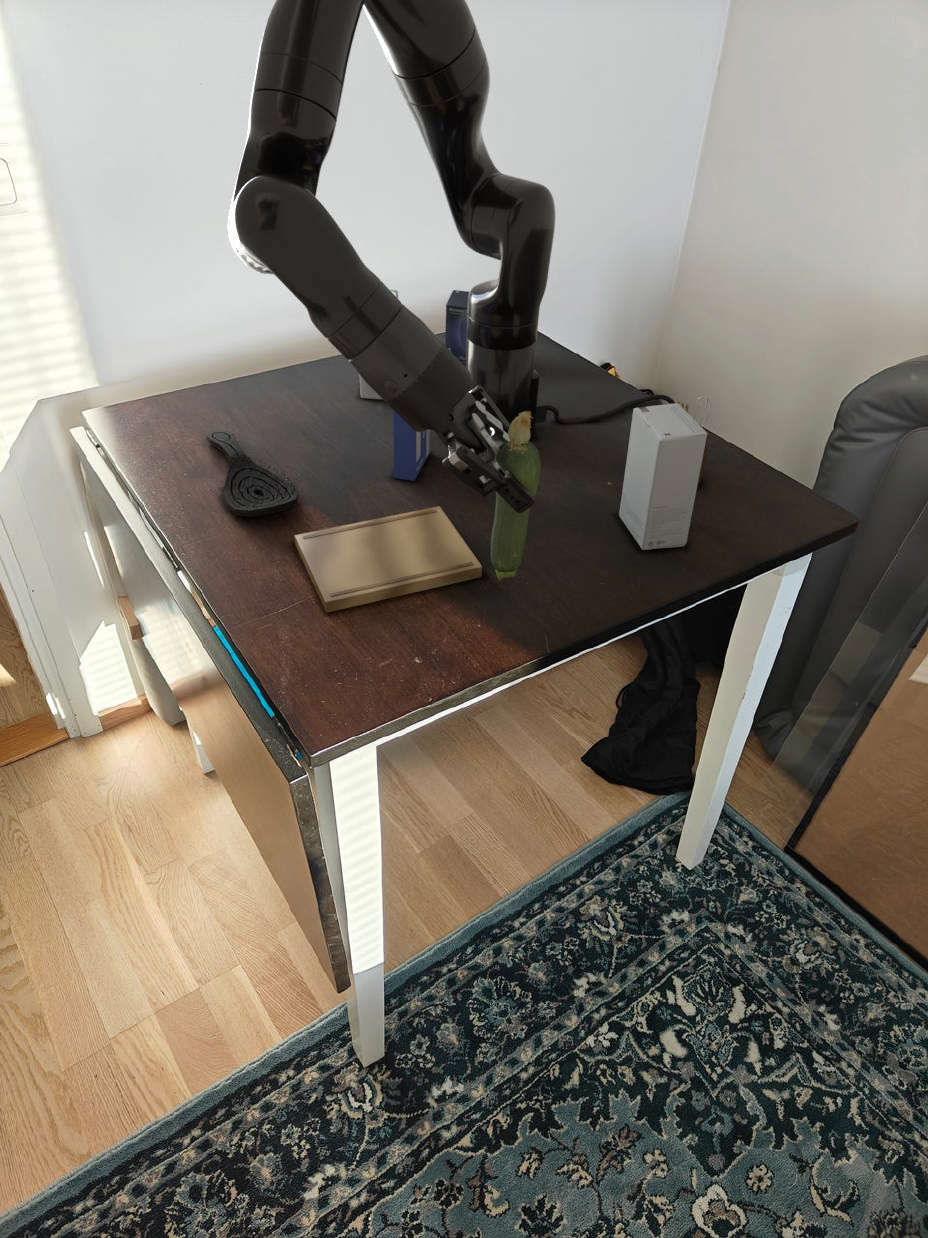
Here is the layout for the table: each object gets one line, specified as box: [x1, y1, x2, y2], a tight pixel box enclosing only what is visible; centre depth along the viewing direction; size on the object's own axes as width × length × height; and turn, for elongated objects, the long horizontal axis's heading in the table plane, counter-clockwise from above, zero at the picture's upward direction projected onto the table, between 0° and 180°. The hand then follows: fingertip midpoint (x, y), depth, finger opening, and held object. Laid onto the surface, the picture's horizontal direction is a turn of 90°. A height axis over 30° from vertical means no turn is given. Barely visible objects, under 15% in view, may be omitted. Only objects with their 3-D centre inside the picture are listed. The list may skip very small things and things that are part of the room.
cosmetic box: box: [618, 402, 709, 551], centre depth 101 cm, size 8×6×15 cm
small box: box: [444, 289, 470, 366], centre depth 137 cm, size 11×6×10 cm, turn 80°
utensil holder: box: [676, 396, 712, 484], centre depth 111 cm, size 6×6×12 cm
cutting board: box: [294, 505, 483, 614], centre depth 99 cm, size 18×13×2 cm
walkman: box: [392, 409, 431, 482], centre depth 112 cm, size 8×3×12 cm, turn 167°
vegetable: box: [490, 411, 542, 582], centre depth 87 cm, size 4×4×20 cm
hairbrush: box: [206, 430, 299, 518], centre depth 111 cm, size 8×4×25 cm
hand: (529, 492), depth 87 cm, fingers closed on vegetable, 4 cm apart
